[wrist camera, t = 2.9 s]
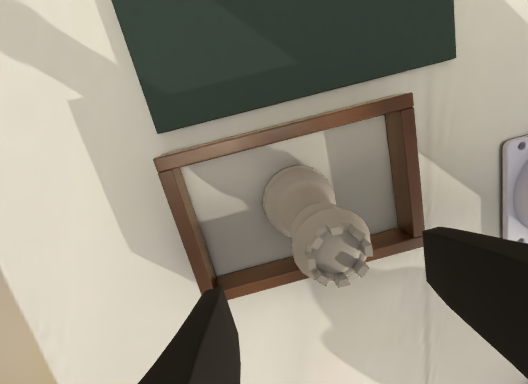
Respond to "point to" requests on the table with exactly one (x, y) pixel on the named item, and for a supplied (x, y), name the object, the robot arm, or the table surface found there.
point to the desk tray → (393, 107)
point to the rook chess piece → (317, 226)
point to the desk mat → (272, 49)
